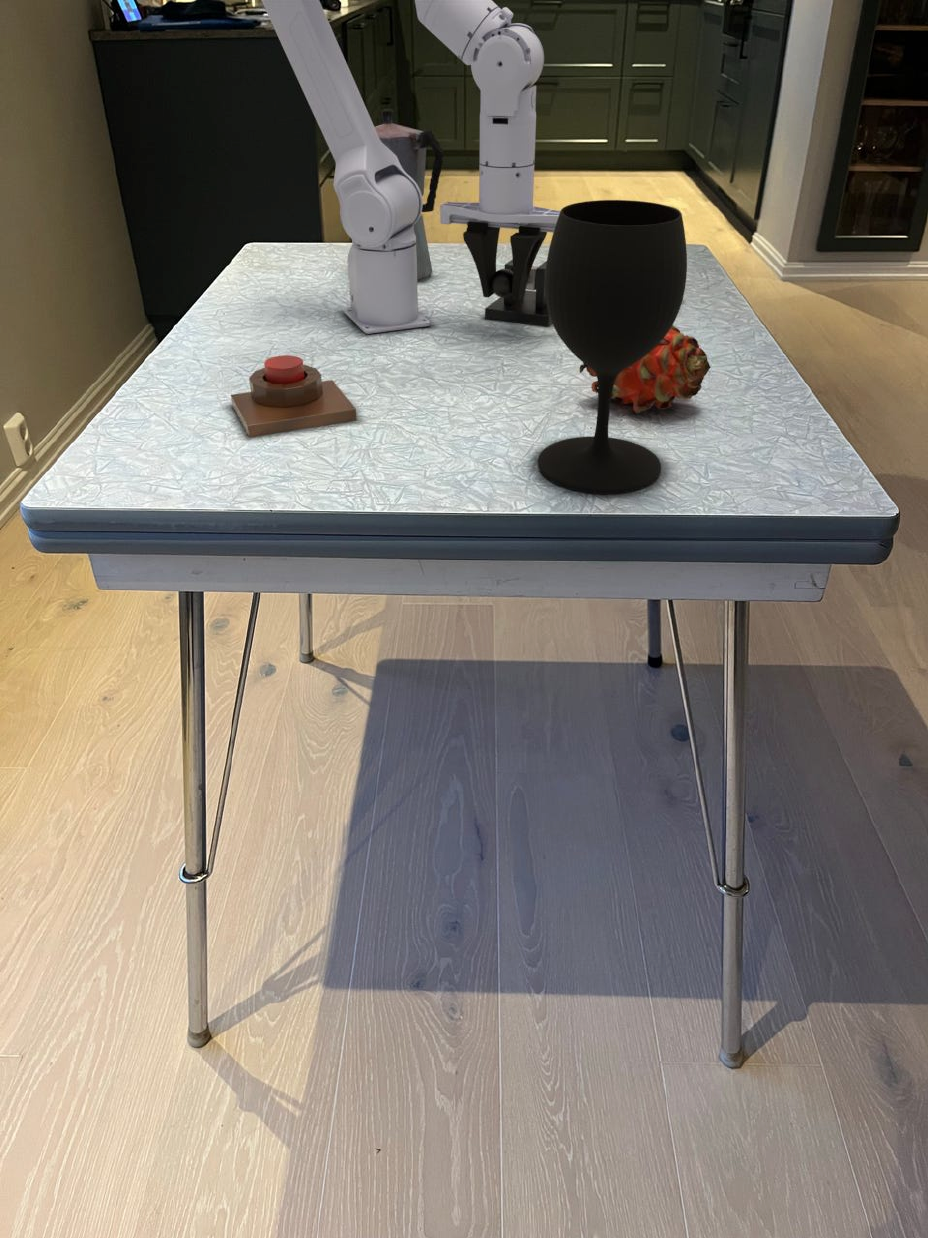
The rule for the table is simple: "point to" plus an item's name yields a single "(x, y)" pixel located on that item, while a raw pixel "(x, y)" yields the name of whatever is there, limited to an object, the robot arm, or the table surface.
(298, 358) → the button
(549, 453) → the wine glass
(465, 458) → the table surface
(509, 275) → the lever
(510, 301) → the bracket
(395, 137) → the moka pot
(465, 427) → the table surface
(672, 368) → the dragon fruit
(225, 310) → the table surface
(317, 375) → the button block
